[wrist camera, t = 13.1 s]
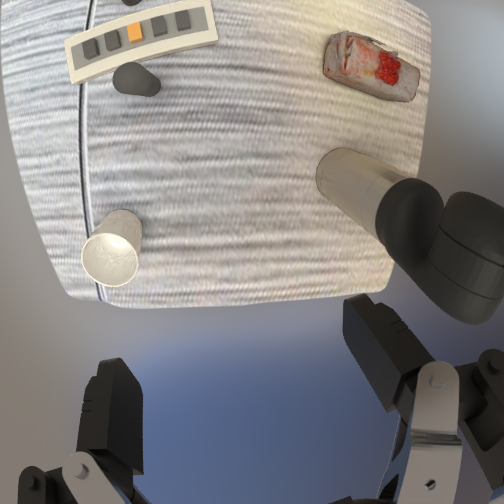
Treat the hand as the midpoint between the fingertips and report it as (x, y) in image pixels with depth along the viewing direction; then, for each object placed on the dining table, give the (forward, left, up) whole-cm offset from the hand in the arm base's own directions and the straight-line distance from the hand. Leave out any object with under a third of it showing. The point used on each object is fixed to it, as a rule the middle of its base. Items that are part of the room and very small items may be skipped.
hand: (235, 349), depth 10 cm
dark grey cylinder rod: (+4, -12, -36) cm, 38 cm away
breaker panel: (+4, -19, -36) cm, 41 cm away
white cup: (+14, +8, -36) cm, 40 cm away
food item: (-27, -10, -36) cm, 46 cm away
